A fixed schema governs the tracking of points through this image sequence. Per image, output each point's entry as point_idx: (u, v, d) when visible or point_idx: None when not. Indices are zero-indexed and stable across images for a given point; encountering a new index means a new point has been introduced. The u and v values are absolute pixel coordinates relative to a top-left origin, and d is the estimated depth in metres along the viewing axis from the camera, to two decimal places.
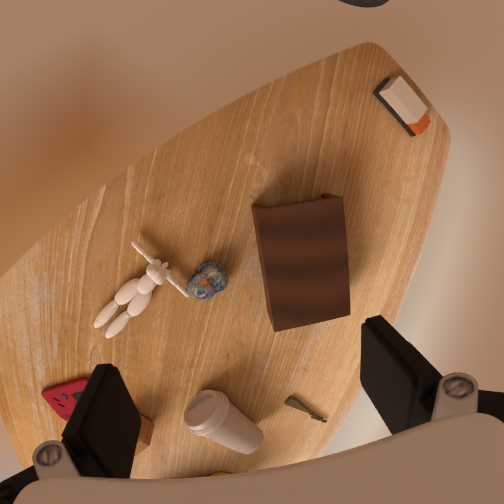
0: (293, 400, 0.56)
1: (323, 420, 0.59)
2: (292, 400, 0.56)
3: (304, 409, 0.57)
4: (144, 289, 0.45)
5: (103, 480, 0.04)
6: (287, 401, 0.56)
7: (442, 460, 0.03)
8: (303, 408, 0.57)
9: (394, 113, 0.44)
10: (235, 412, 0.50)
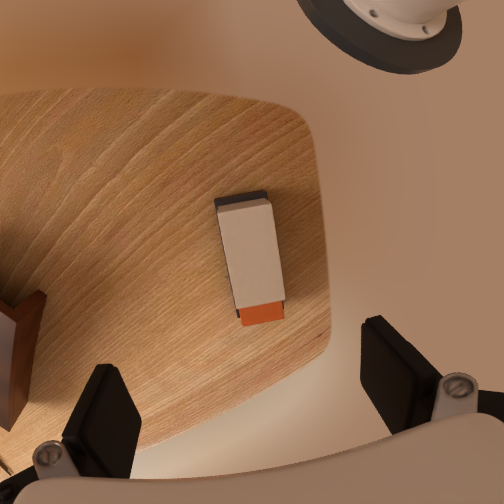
0: None
1: (7, 472, 0.33)
2: None
3: None
4: None
5: (103, 480, 0.04)
6: None
7: (442, 460, 0.03)
8: None
9: None
10: None
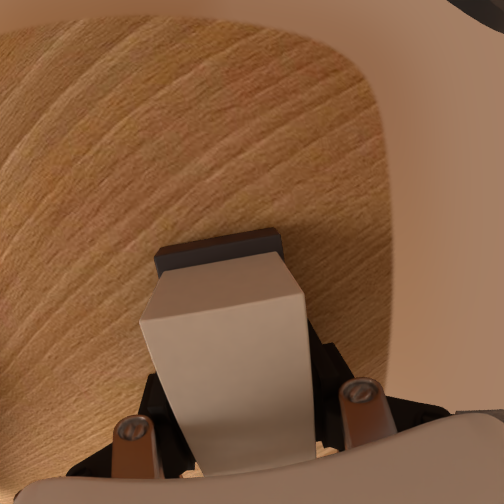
0: None
1: None
2: None
3: None
4: None
5: (103, 480, 0.04)
6: None
7: (442, 460, 0.03)
8: None
9: None
10: None
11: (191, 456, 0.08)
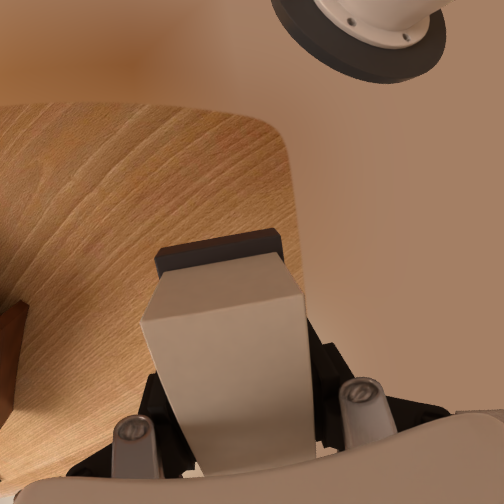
0: None
1: None
2: None
3: None
4: None
5: (103, 480, 0.04)
6: None
7: (442, 460, 0.03)
8: None
9: None
10: None
11: (191, 456, 0.08)
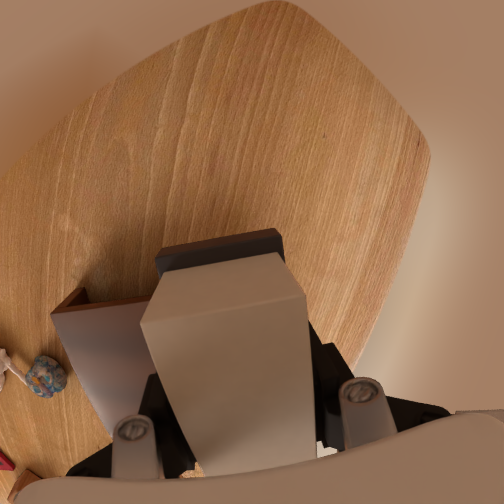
0: None
1: None
2: None
3: None
4: None
5: (103, 480, 0.04)
6: None
7: (442, 460, 0.03)
8: None
9: None
10: None
11: (191, 456, 0.08)
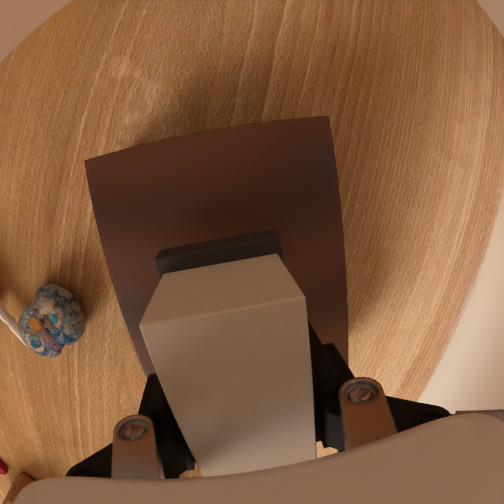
0: None
1: None
2: None
3: None
4: None
5: (103, 480, 0.04)
6: None
7: (442, 460, 0.03)
8: None
9: None
10: None
11: (191, 456, 0.08)
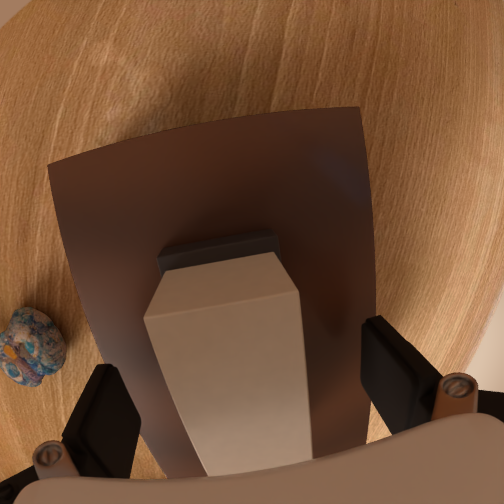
0: None
1: None
2: None
3: None
4: None
5: (103, 480, 0.04)
6: None
7: (442, 460, 0.03)
8: None
9: None
10: None
11: None
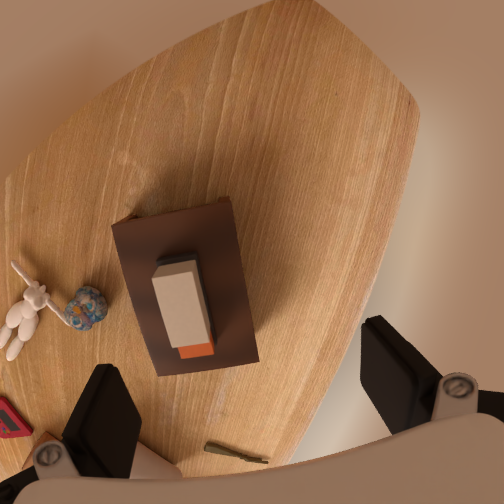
0: (211, 446, 0.44)
1: (262, 462, 0.47)
2: (209, 447, 0.44)
3: (230, 454, 0.45)
4: (25, 314, 0.33)
5: (103, 480, 0.04)
6: (205, 447, 0.44)
7: (442, 460, 0.03)
8: (228, 453, 0.45)
9: None
10: (140, 454, 0.38)
11: None
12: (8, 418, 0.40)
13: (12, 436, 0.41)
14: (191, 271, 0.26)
